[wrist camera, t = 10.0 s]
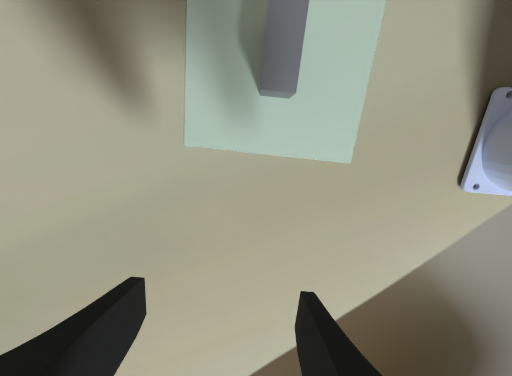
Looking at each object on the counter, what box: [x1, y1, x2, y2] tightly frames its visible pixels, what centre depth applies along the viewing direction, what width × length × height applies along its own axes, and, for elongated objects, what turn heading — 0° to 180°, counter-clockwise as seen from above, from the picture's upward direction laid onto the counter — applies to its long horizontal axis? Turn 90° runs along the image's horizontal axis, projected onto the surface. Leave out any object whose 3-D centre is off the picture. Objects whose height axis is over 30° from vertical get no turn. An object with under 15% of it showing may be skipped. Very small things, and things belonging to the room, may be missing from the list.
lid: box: [184, 0, 386, 163], centre depth 16 cm, size 14×14×5 cm
